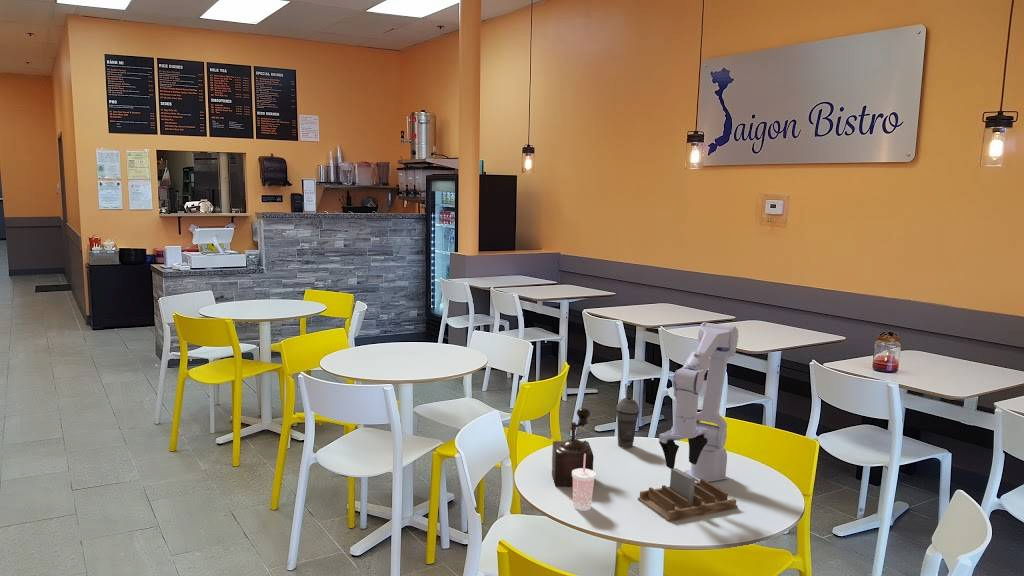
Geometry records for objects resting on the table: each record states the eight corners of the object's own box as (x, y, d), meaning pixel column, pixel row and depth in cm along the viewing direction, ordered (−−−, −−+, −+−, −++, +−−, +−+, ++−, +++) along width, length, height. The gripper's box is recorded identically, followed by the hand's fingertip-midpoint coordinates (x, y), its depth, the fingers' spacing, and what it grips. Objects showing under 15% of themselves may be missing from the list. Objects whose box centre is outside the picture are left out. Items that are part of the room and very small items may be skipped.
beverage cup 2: (631, 451, 222) (635, 389, 219) (609, 446, 225) (613, 384, 223) (640, 445, 228) (644, 384, 225) (619, 440, 232) (623, 380, 229)
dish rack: (704, 487, 197) (705, 475, 196) (737, 508, 185) (738, 494, 185) (637, 499, 188) (638, 486, 187) (668, 521, 176) (669, 507, 176)
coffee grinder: (595, 487, 194) (599, 424, 191) (554, 487, 193) (557, 423, 191) (586, 465, 209) (590, 406, 207) (548, 464, 209) (551, 405, 206)
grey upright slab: (673, 496, 189) (675, 467, 188) (692, 507, 183) (695, 477, 182) (669, 497, 188) (671, 469, 187) (688, 508, 182) (690, 478, 181)
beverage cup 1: (598, 506, 183) (601, 454, 181) (584, 514, 178) (588, 460, 176) (578, 499, 187) (581, 447, 185) (565, 506, 182) (567, 453, 180)
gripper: (696, 407, 191) (692, 455, 193) (653, 413, 184) (649, 463, 186) (715, 415, 184) (710, 465, 186) (671, 422, 178) (667, 474, 180)
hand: (681, 465), depth 186 cm, fingers open, 7 cm apart
